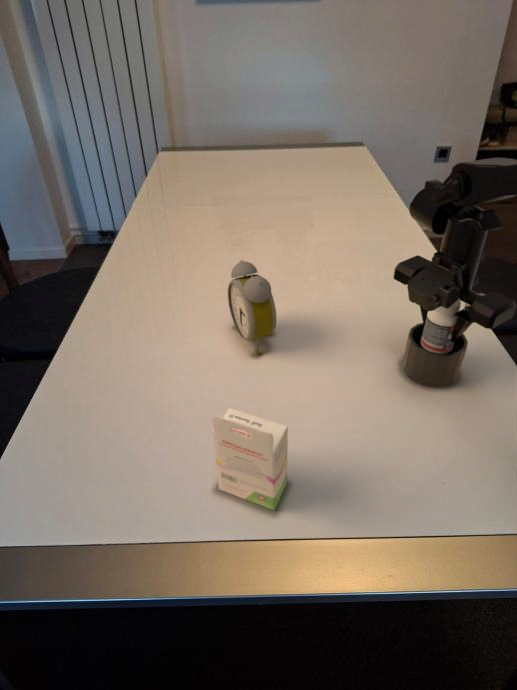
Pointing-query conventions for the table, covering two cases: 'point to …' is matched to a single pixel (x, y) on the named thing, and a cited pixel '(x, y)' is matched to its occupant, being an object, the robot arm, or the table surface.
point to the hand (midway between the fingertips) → (439, 333)
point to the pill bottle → (440, 329)
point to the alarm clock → (251, 304)
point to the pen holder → (432, 361)
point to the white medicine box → (251, 457)
